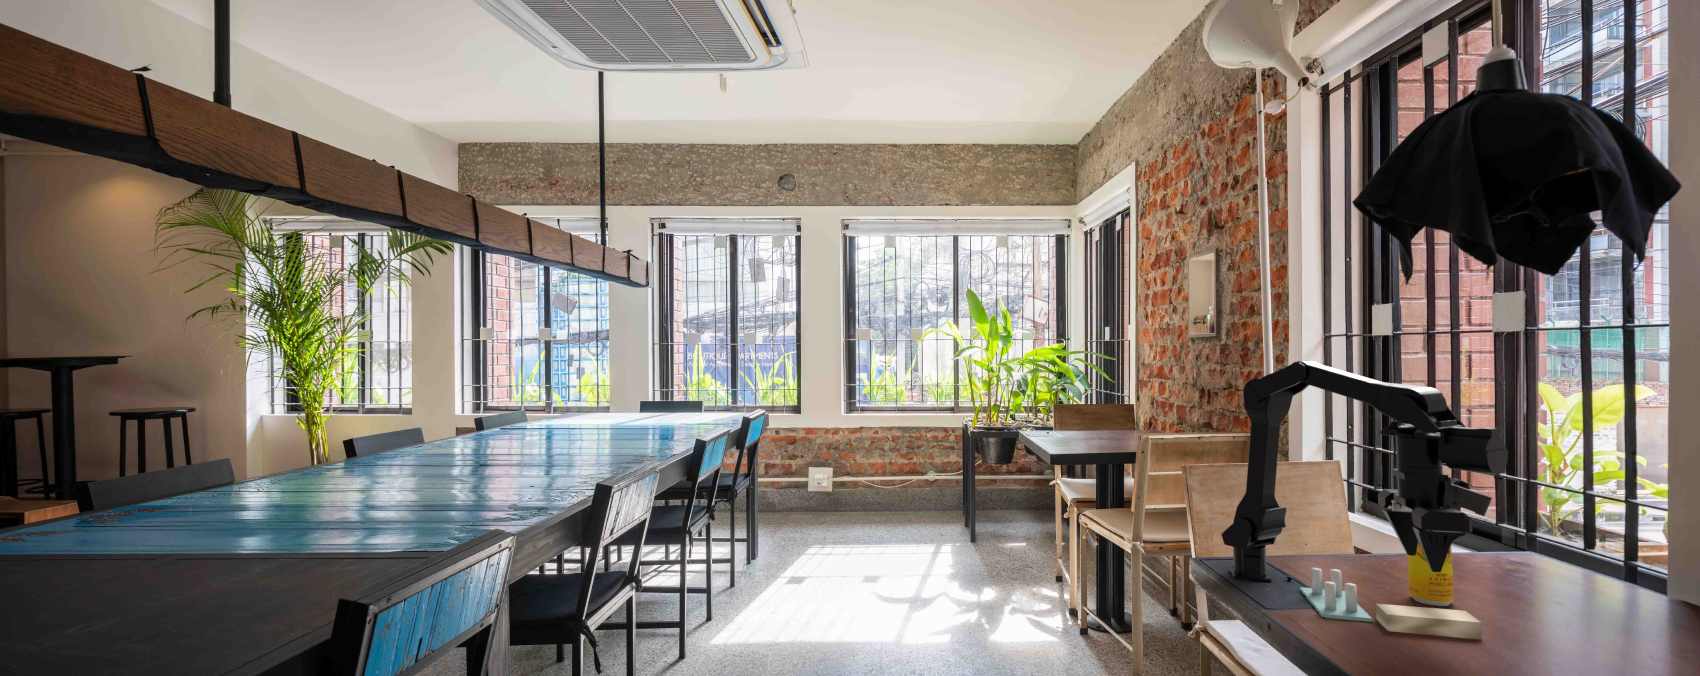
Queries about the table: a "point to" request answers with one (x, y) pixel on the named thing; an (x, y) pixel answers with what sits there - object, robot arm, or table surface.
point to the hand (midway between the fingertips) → (1423, 563)
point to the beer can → (1430, 580)
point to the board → (1428, 621)
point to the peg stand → (1334, 597)
